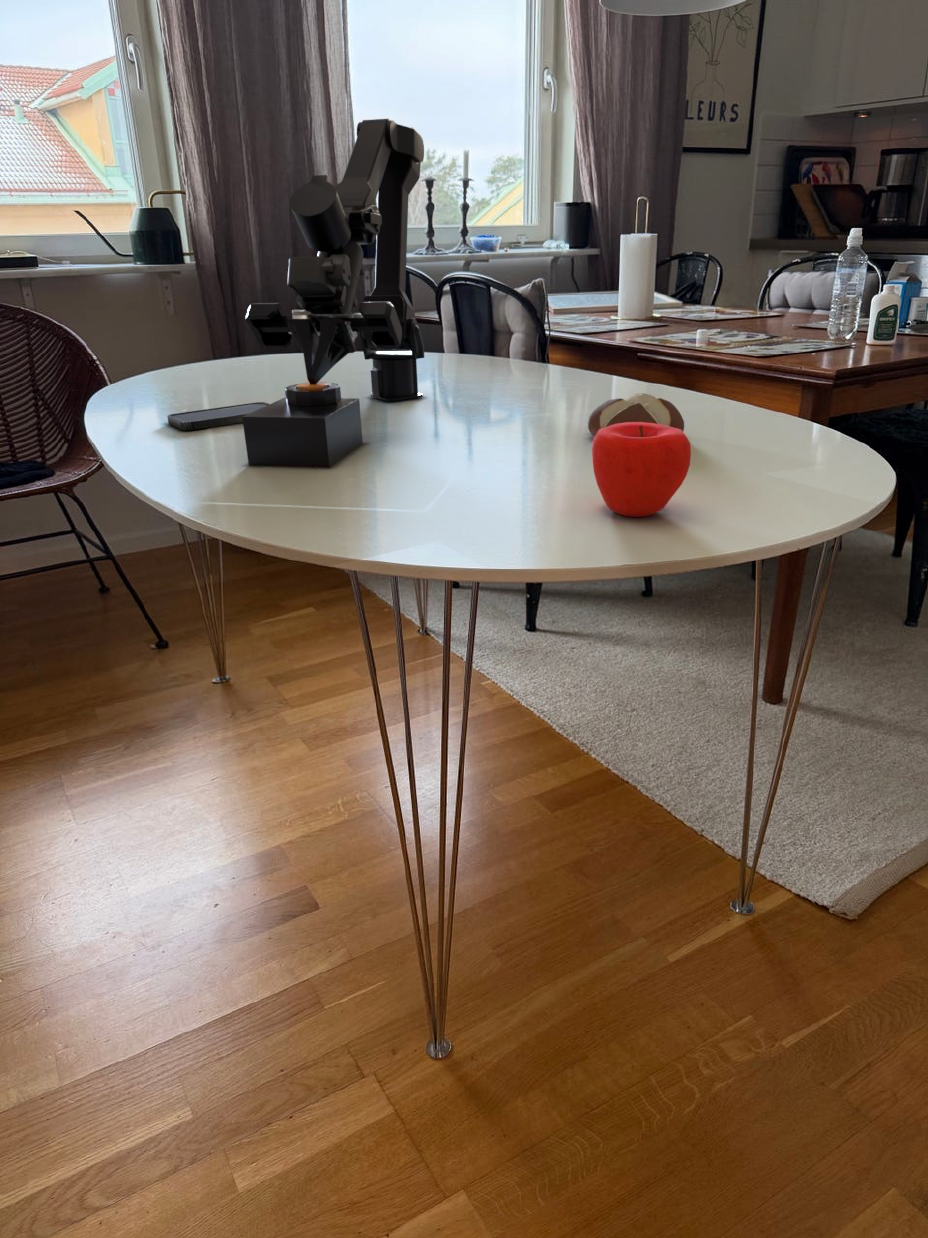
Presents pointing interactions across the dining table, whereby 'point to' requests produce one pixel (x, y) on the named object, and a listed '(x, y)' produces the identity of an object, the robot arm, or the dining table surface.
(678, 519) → the dining table surface
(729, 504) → the dining table surface
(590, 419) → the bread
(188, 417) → the phone
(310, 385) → the button
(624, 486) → the apple
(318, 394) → the black switch box
